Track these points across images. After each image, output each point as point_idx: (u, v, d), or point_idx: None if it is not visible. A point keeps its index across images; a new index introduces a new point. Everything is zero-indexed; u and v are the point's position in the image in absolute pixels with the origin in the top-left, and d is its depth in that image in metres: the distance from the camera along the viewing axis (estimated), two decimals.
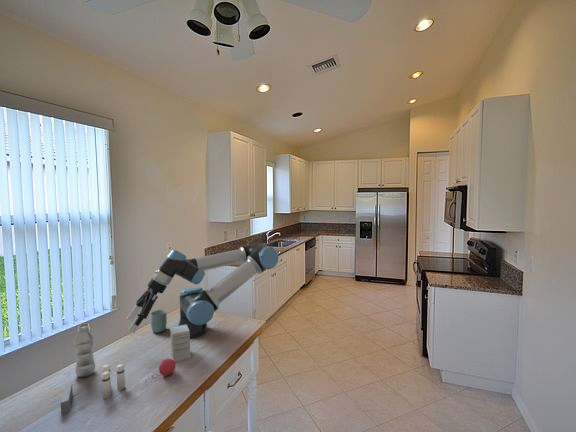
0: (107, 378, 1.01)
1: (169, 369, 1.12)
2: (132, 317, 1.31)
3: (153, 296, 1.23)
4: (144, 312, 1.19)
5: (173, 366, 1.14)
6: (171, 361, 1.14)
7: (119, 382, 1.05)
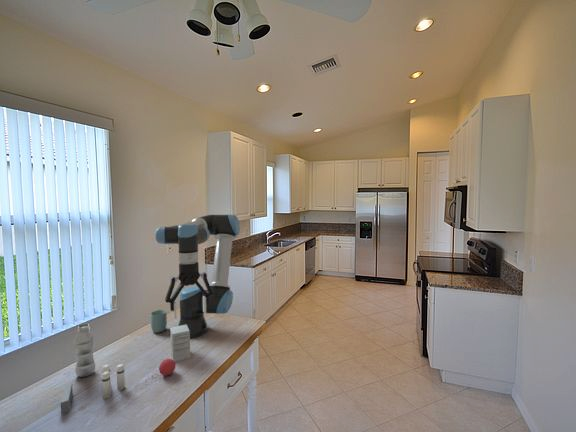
0: (107, 378, 1.01)
1: (169, 369, 1.12)
2: None
3: None
4: (211, 289, 1.22)
5: (173, 366, 1.14)
6: (171, 361, 1.14)
7: (119, 382, 1.05)
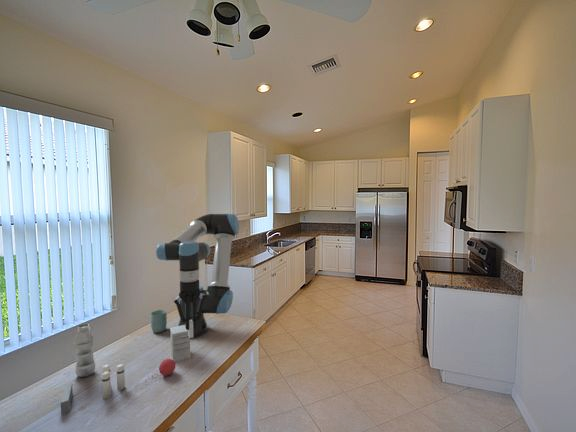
0: (107, 378, 1.01)
1: (169, 369, 1.12)
2: None
3: None
4: None
5: (173, 366, 1.14)
6: (171, 361, 1.14)
7: (119, 382, 1.05)
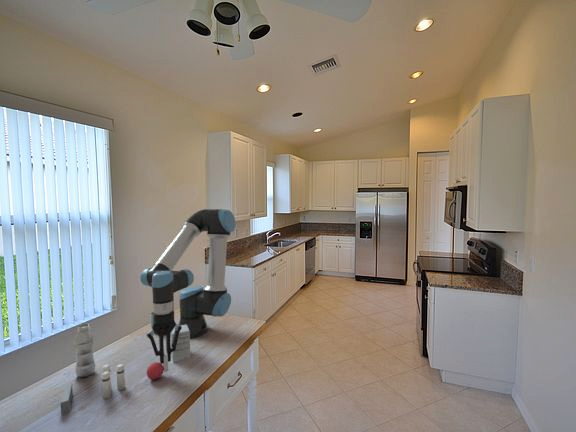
0: (107, 378, 1.01)
1: (156, 373, 1.10)
2: None
3: None
4: None
5: (157, 368, 1.11)
6: (151, 367, 1.10)
7: (119, 382, 1.05)
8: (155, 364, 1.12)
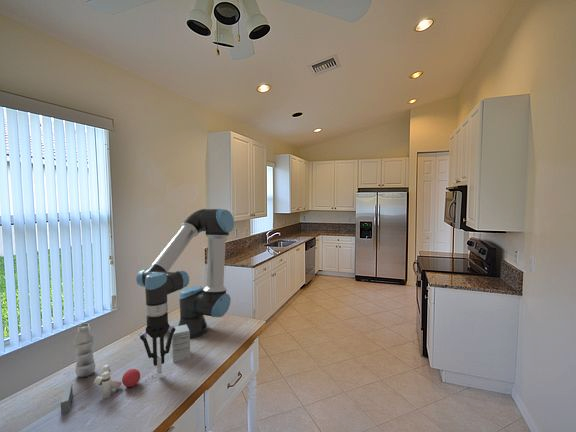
0: (107, 378, 1.01)
1: (131, 383, 1.05)
2: None
3: None
4: None
5: (128, 386, 1.06)
6: None
7: (110, 386, 1.04)
8: None
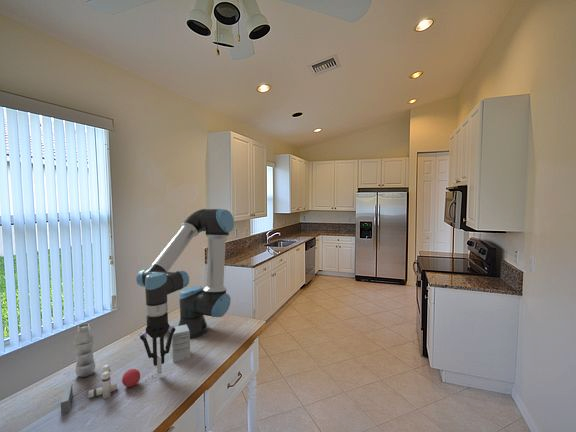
0: (107, 378, 1.01)
1: (131, 383, 1.05)
2: None
3: None
4: None
5: (128, 386, 1.06)
6: None
7: None
8: None
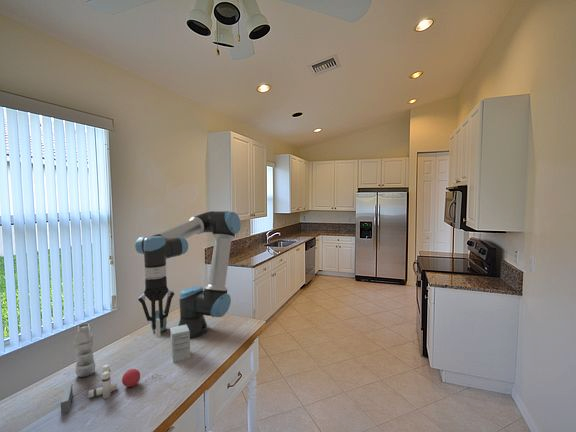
0: (107, 378, 1.01)
1: (131, 383, 1.05)
2: None
3: None
4: None
5: (128, 386, 1.06)
6: None
7: None
8: None
